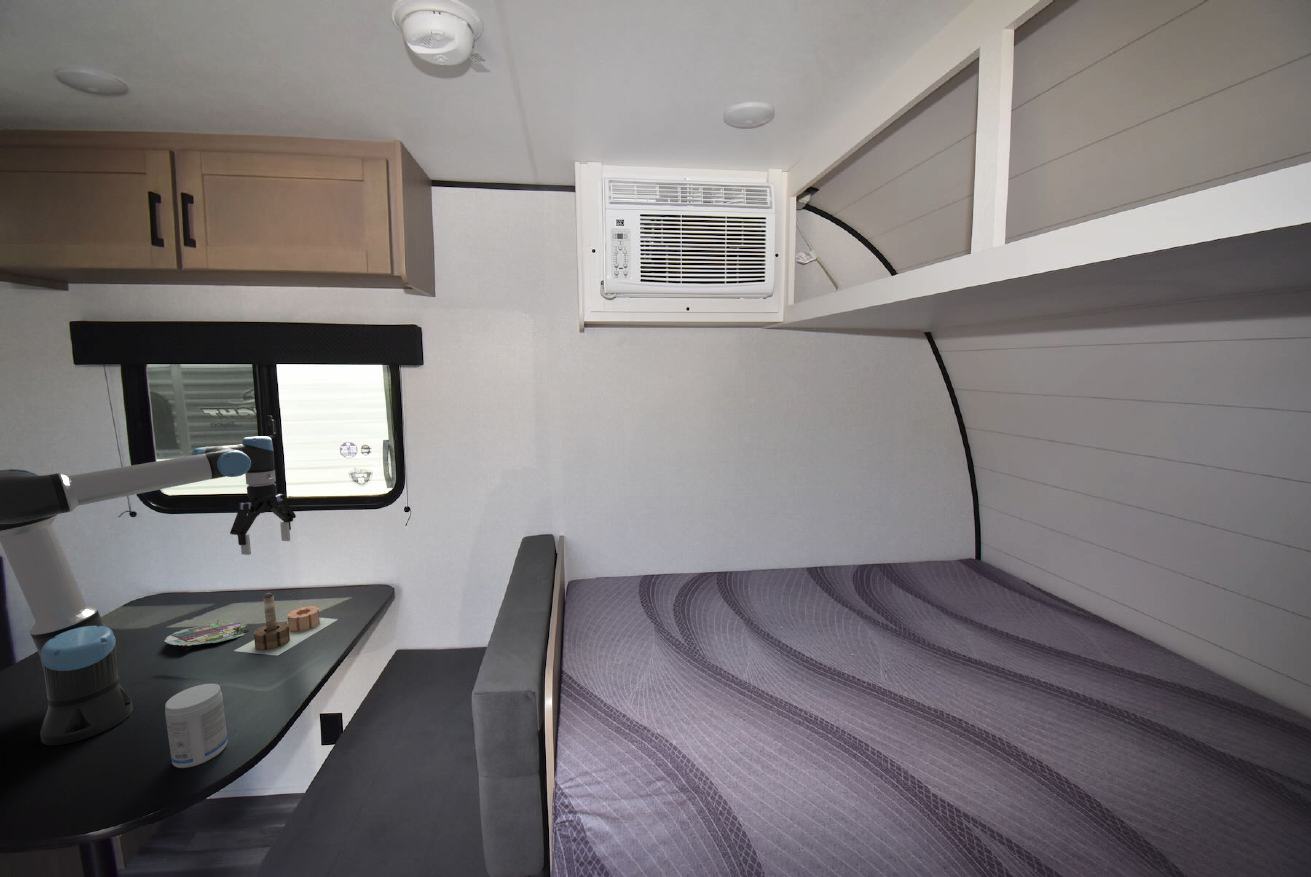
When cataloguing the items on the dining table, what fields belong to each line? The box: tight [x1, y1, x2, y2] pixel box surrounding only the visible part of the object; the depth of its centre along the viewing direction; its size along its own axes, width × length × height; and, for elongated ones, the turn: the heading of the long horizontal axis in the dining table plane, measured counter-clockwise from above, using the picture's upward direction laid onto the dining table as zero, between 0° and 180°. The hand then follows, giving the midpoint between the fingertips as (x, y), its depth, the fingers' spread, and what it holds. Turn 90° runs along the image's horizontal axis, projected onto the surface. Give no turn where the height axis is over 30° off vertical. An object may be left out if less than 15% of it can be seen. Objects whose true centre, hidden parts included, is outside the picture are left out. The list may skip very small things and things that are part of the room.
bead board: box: [233, 617, 339, 656], centre depth 165 cm, size 24×16×1 cm, turn 171°
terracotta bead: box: [287, 605, 320, 632], centre depth 171 cm, size 9×9×5 cm
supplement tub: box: [164, 683, 228, 769], centre depth 113 cm, size 10×10×15 cm
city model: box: [163, 619, 250, 651], centre depth 165 cm, size 25×23×6 cm
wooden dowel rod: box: [262, 592, 277, 632], centre depth 158 cm, size 3×3×17 cm
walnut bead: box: [253, 621, 290, 651], centre depth 159 cm, size 9×9×5 cm
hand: (267, 547), depth 161 cm, fingers open, 13 cm apart
